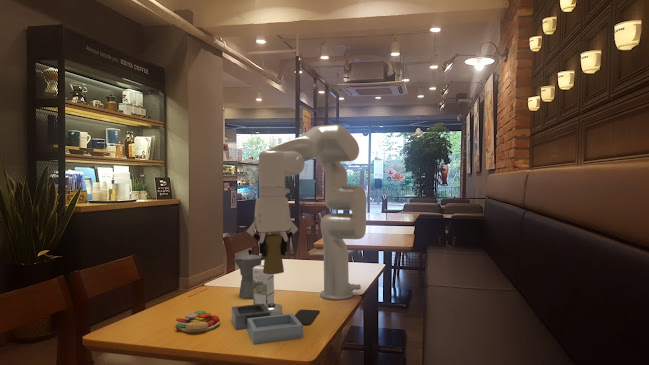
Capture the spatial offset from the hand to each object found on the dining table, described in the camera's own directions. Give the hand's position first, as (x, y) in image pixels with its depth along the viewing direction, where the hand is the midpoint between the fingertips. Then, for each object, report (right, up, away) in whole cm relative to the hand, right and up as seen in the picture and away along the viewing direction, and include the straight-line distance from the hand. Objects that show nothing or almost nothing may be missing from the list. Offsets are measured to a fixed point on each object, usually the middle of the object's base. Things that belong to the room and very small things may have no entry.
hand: (273, 254), depth 128 cm
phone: (+8, -23, +15) cm, 29 cm away
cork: (0, -5, 0) cm, 5 cm away
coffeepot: (-13, -23, +43) cm, 51 cm away
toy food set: (-24, -24, +8) cm, 35 cm away
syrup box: (-6, -23, +27) cm, 36 cm away
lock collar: (-6, -23, +14) cm, 28 cm away
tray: (0, -23, 0) cm, 23 cm away
